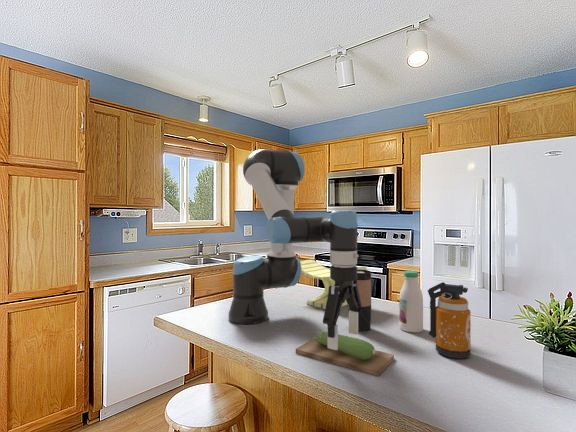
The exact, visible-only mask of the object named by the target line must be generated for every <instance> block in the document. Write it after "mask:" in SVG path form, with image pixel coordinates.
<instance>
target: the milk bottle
mask: <svg viewBox="0 0 576 432" xmlns="http://www.w3.org/2000/svg"><path fill="white" fill-rule="evenodd" d="M403 276H404V277H403V278H404V281H403V284H402V287H401V288H400V292H399V303H398V304H399V312H398V314H399V315H398V317H399V319H398V321H399V328H400V329H401V331H403V332H406V333H407V332H408V333H422V332H423V331H424V296H423V292H422V290H421V287H420V285H419V280H418V279H419V272H418V271H415V270H405V271H404V272H403Z"/></svg>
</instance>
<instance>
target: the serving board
mask: <svg viewBox="0 0 576 432" xmlns="http://www.w3.org/2000/svg"><path fill="white" fill-rule="evenodd" d="M313 338H321V337H320V336H317V335H316V336H314V337H313ZM295 354H298V355H301V356H305V357H309V358H312V359H316V360H319V361H323V362H327V363H330V364H334V365H338V366H342V367H344V368H349V369H352V370H356V371H359V372H363V373H366V374H370V375H374V376H376V377H380V376H381V375H382V374H383V372H384V371H385V370H386V369H387V368H388V367H389V365H391V363H392V362H393V361H394V359H395V354H393V353H389V352H385V351H381V350H376V349H375V354H373V355H372V356H371V357H370V358H368V359H366V360H362V359H358V358H356V357H353V356H350V355H348V354H345V353H343V352H340V351H338V350H333V349H329V348H327V346H325V345H322V344H319V343H318V342H316V341H314V340H313V339H312V338H311V339H309V340H308V341H306V342H304V343H303V344H302V345H300V346H298V347H296V348H295Z"/></svg>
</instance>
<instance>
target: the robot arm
mask: <svg viewBox="0 0 576 432" xmlns="http://www.w3.org/2000/svg"><path fill="white" fill-rule="evenodd" d="M305 169H306V168H305V162H304V160H303V158H302V156H301V155H300V153H298V152H295V151H290V150H280V149H279V150H275V149H266V148H264V149H257V150H254V151H253V152H252V153H250V154H249V155H248V156H247V157H246V158H245V160H244V163H243V166H242V173H243V174H242V175H243V178H244V179H245V181H246V182H247V184H248V185H250V186H251V188H252V189H253V192H254V193H255V196H256V197H257V199H258V201H259V204H260V206H261V207H262V210H263V212H264V213H265V216H266V217H267V222H266V225H265V226H266V227H265V233H266V238H267V240H268V241H269V242H270V249H269V251H268V252H267V253H266V258H264V256H262V255H249V256H244V257H239V258H237V259H236V260H235V261H234V262H233V266H232V293H233V294H232V301H231V305H230V309H229V311H228V321H229V322H231V323H233V324H239V325H253V324H254V325H255V324H258V323H262V322H265V321H266V320H268V319H269V310H268V308H267V304H266V301H265V298H264V294H265V293H264V290H270V289H280V288H284V289H285V288H288V287H289V288H290V287H294V286H296V285H297V284H298V283H299V281H300V279H301V275H302V271H301V270H302V269H301V265H300V264H301V262H300V261H301V260H300V259H299V258H298V257H297V254H296V252H295V251H294V250H293V246H294V245H293V244H300V243H301V244H302V243H325V242H326V243H329V244H330V245H329V248H330V249H329V251H330V253H329V264H331V265H330V266H329V270H330V278H331V279H332V280H334V281H335V286H329V291H328V299H327V303H326V308H325V309H324V314H323V318H322V324H325V325H327V331H326V332H327V348H329V349H333V350H338V334H339V324H337V322H338V319H339V316H340V312H341V310H342V307H343V306H342V304H343V303H344V302H345V300H346V301H347V303H348V304H347V306H348V309H349V308H350V310H352V311H349V310H348V333H349V334H351V335H356V336H357V335H359V332H358V311H359V312H361V310H362V308H361V300H360V296H359V291H358V287H357V268H358V267H357V266H356V265H357V264H358V258H359V254H358V227H359V225H358V216H357V215H358V213H357V212H356V211H355V210H332V211H331V212H330V213H329V214H330V215H329V217H326V216H316V217H313V216H310V217H305V216H304V217H300V216H299V217H297V216H296V217H295V214H294V211H295V190H296V189H297V188H298V187H299V182H301V181H303V179H304V177H305V174H306V173H305V172H306V171H305Z"/></svg>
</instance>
